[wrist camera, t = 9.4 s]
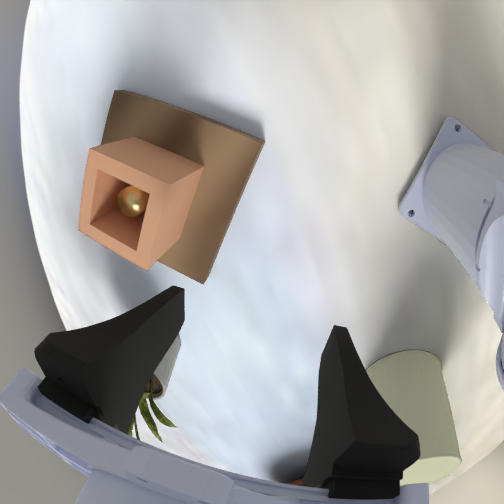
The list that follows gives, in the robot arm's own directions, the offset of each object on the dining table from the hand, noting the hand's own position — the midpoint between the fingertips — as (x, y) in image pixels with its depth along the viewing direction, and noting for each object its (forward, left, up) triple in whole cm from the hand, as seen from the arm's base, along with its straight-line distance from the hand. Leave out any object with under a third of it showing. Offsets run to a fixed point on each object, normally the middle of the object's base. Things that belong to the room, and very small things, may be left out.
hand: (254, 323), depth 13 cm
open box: (+10, 0, -8) cm, 13 cm away
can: (-18, +8, -10) cm, 22 cm away
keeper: (+10, 0, -9) cm, 14 cm away
